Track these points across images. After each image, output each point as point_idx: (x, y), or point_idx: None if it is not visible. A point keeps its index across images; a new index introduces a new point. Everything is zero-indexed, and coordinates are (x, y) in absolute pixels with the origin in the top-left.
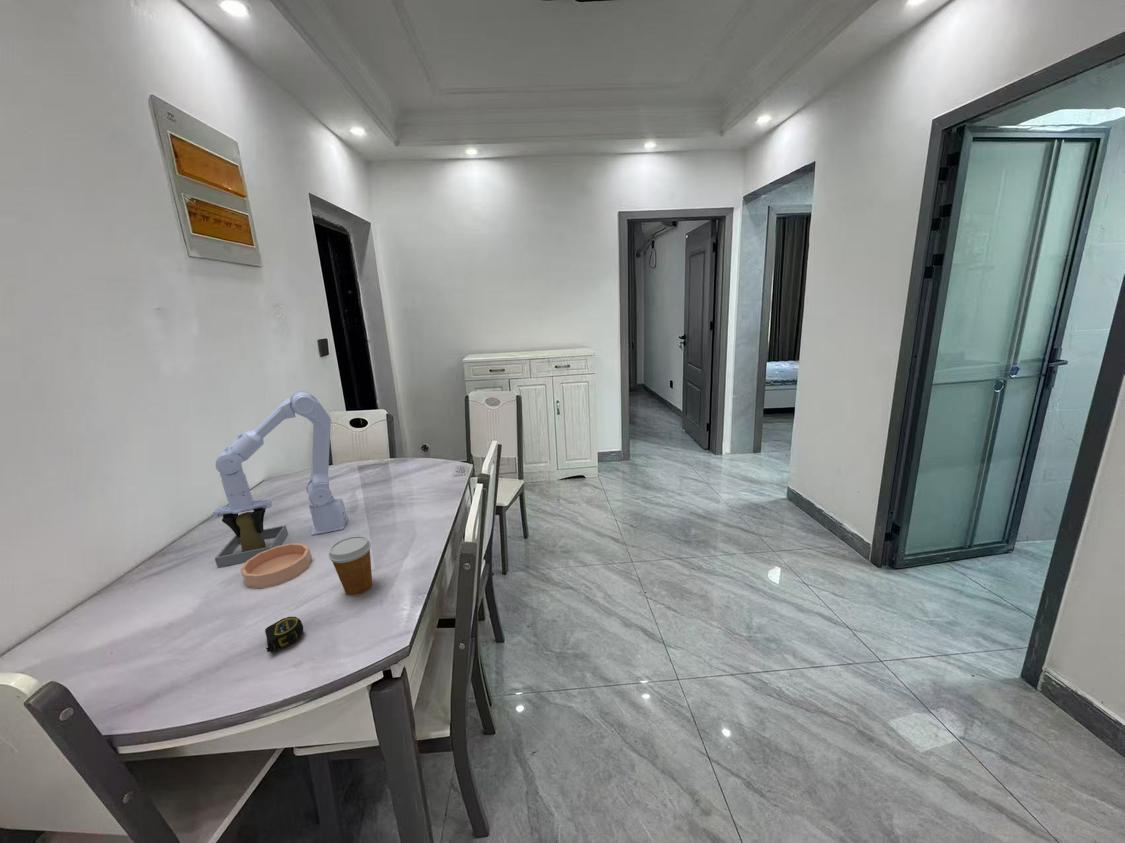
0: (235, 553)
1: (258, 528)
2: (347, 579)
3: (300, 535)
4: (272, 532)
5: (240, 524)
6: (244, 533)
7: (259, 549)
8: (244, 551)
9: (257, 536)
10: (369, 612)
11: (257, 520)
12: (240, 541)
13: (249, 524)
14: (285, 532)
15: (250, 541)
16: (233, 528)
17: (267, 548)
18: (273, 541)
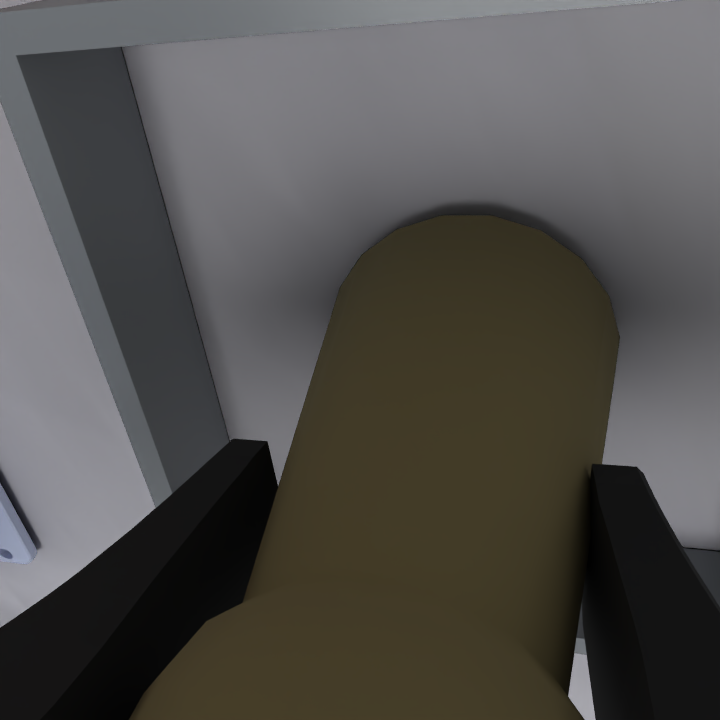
0: (604, 3)
1: (190, 501)
2: None
3: (77, 430)
4: None
5: (426, 685)
6: (446, 455)
7: (143, 1)
8: (551, 250)
9: (307, 402)
10: None
11: (13, 656)
12: (709, 573)
13: (235, 612)
14: None
15: (401, 320)
16: (696, 656)
17: (28, 10)
18: (74, 239)
